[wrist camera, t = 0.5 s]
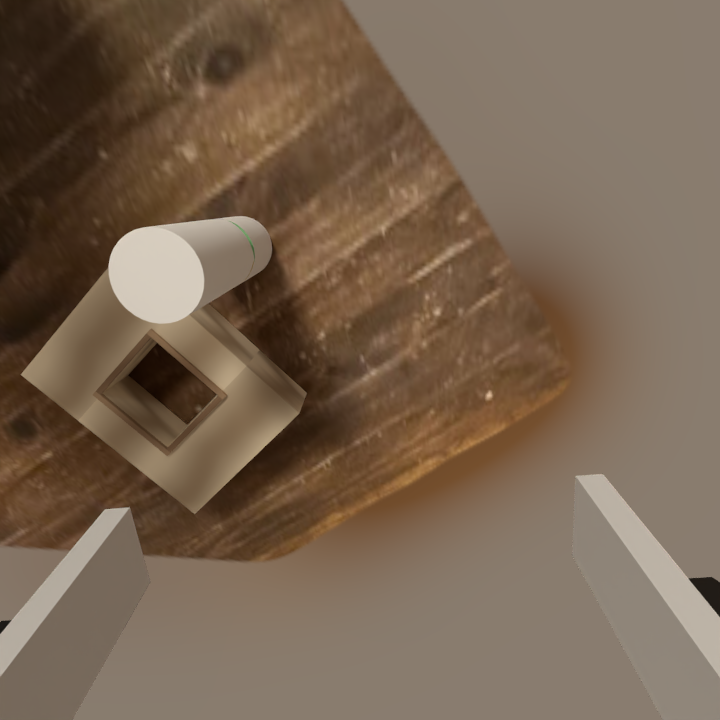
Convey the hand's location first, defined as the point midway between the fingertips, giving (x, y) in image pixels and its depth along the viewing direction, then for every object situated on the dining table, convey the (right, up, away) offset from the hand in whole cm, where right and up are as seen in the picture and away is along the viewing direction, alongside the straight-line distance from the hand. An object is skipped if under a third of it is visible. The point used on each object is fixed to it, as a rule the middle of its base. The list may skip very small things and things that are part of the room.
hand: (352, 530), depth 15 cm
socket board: (-14, +4, +25) cm, 29 cm away
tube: (-8, +13, +22) cm, 27 cm away
